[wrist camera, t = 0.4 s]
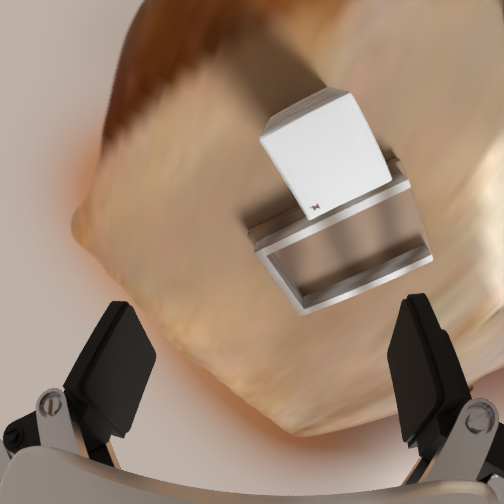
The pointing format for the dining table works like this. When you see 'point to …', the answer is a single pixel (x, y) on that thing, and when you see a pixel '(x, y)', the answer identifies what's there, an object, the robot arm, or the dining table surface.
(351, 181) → the supplement box
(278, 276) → the board
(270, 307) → the dining table surface
